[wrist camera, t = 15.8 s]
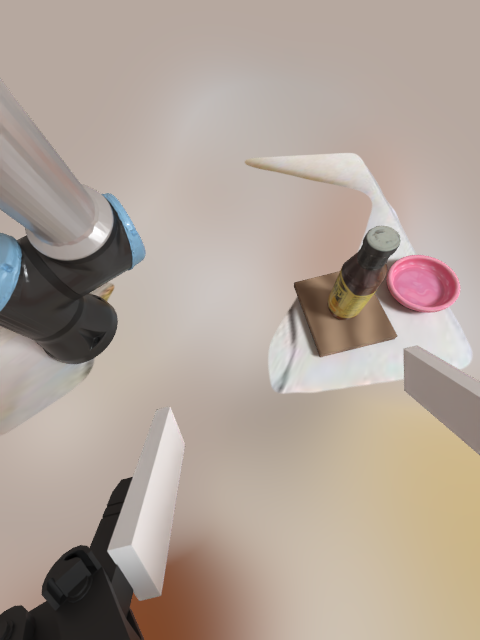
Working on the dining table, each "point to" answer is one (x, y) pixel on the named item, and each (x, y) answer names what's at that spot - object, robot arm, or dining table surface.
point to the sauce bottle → (363, 273)
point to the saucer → (423, 283)
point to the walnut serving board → (337, 332)
